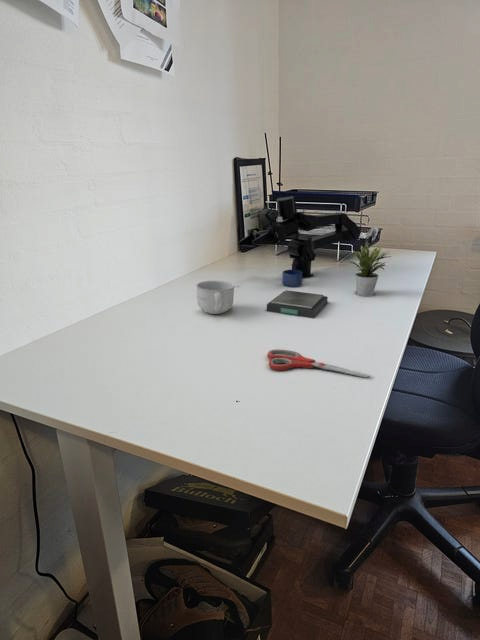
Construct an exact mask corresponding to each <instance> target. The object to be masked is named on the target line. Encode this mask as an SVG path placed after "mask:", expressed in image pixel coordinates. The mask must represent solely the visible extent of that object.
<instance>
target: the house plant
mask: <svg viewBox="0 0 480 640" xmlns="http://www.w3.org/2000/svg"><path fill="white" fill-rule="evenodd" d="M378 247H379V244H377V245H375V248H374V249H373V250H372V251H371V253H370V249H369V244H368V243H366V250H365V247H364V246H363V245H360V251H358V250H356V251H355V250H354V249H352V252H353V253H354V255H355V256H356V258H357V259H358V263H357V262H355V261H353V260H349V261H347V263H349V264H352V265H355V266H356V267H357V272H356V273H354V279H355V289H356V290H355V291H356V294H357V295H358V296H362V297H372V296H373V295H374V293H375V290H376V285H377V282H378V279H379V274H377V273H376V271H377V270H378V269H379V268H380V269H381V270H383V271H384V272H386V271H385V268H384V267H387V265H386V263H388V261H384V262H379V261H380V260H383V259H386V258H391V257H393V256H392V255H390V256H387V255H388V253H390V252H392V250H389V251H385V252H380V251H381V250H382V249H383V248H384V246H381V247H379V248H378Z"/></svg>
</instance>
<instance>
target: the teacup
mask: <svg viewBox="0 0 480 640" xmlns="http://www.w3.org/2000/svg"><path fill="white" fill-rule="evenodd" d="M195 287H196V303H197V305H198V307H199V308H200V309H201V310H202V311H203V312H205V313H207V314H211V315H218V314H219V315H220V314H224V313H226V312H227V311H228V310H230V309H231V308H232V307H233V304H234V299H235V298H234V297H235V285H234V283H232V282H229V281H224V280H204V281H200V282H198V283H196V285H195Z"/></svg>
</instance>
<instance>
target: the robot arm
mask: <svg viewBox="0 0 480 640" xmlns="http://www.w3.org/2000/svg"><path fill="white" fill-rule="evenodd" d="M296 202H297V198H296V196H294V195H291V196H284V197H277V198H276V206H277V209H275V210H273V209H272V208H264V209H262V210H260V212H258V213H257V214H256V217H257V219H258V220H259V222H260V223H261V224H262V226H261V230H260V228H258V227H251V228H249V229H247V235H246V236H245V237H243V238H242V239H241V240H240V241H238V242H237V243H238V246H242V247H253V248H254V247H259V246H262V245H263V246H277V245H278V246H279V245H283V244H285V243H286V241H287V237H290V240H289V241H288V243H287V248H286V249H287V252H288V256H289V258H290V259H292V263H291V270H300V271H302V279H303V278H308V277H309V278H310V277H313V276H314V274H313V273H312V262H314V261H315V259H316V255H317V254H316V253H315V252H314V251H315V250H319V249H321V248H324V247H327V246H330V245H335V244H336V243H337V244H338V243H340V242H357V240H359V238H360V237H361V234H362V233H361V229H360V227H359V226H358V225H357V223H356V222H354V221H353V220H352V219H351V218H350V217H349V216H348V214H346V213H345V212H337V211H336V212H331V213H324V214H323V213H322V214H314V215H313V214H307V213H303V212H300V211H297V203H296ZM278 218H281V219H282V220H280V221H278ZM331 225H334V229H335V230H333V231H330V232H326V233H323V234H320V235H317V236H314V237H312V236H306V235H300V234H301V232H299V231H304V232H311V231H313V230H315V229H316V228H318V227H322V226H331Z"/></svg>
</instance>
